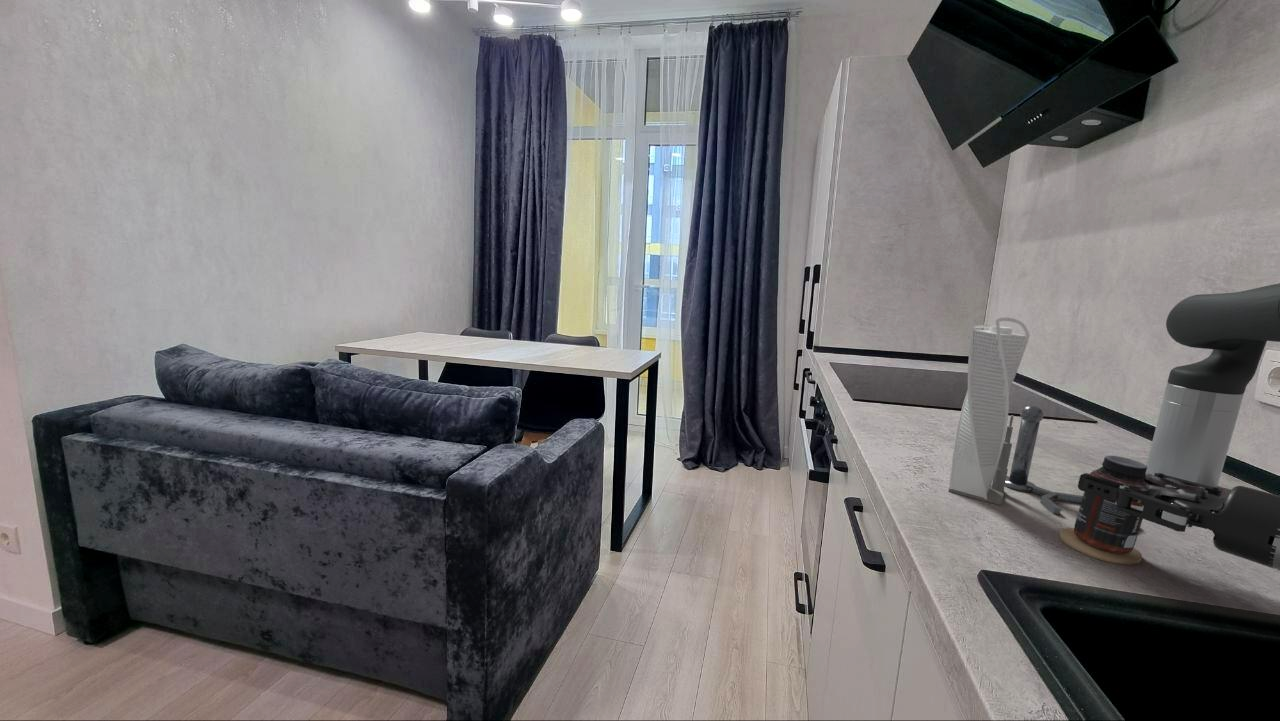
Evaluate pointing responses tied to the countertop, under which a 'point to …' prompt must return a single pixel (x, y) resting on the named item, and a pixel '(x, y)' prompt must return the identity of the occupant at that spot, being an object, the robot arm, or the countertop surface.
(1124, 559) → the coaster
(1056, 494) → the ring holder
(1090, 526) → the supplement bottle
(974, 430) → the skyscraper
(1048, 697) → the countertop surface
